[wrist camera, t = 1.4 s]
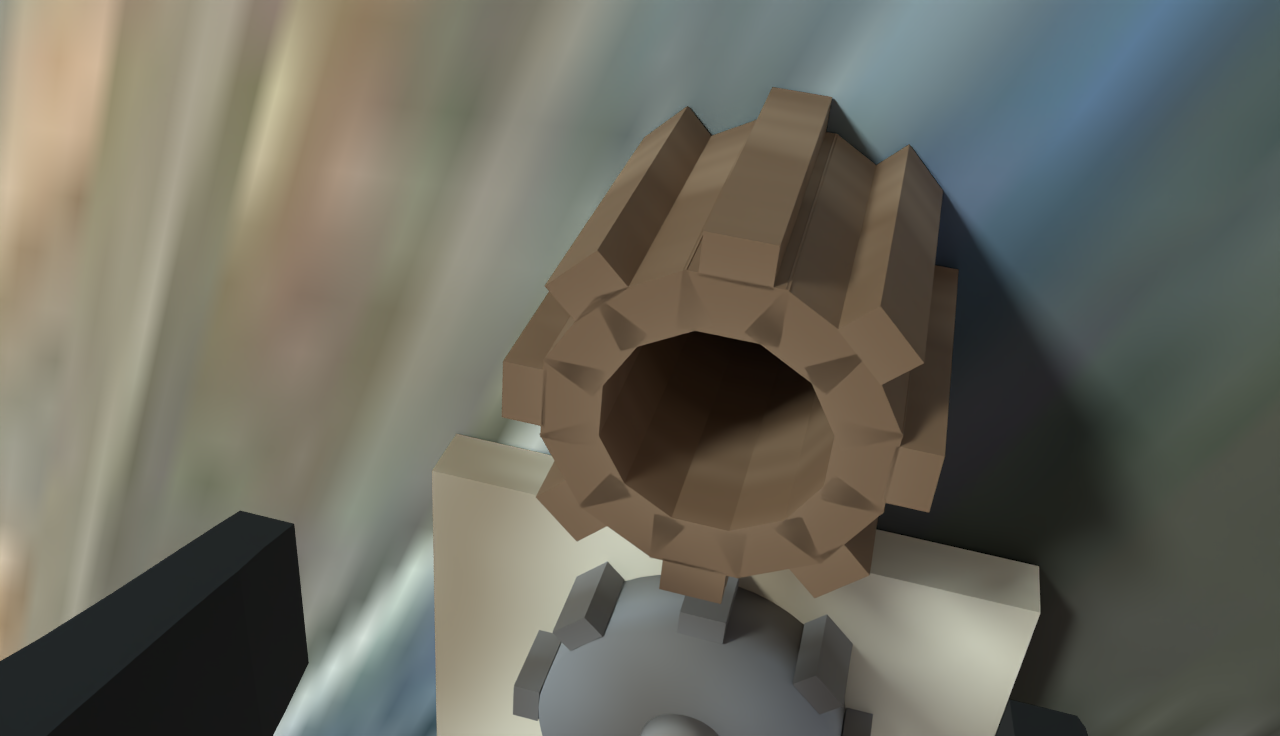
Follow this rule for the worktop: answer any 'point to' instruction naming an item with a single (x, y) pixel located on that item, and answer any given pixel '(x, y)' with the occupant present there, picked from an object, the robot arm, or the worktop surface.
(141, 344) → the worktop surface
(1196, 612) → the worktop surface
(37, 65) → the worktop surface
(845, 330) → the walnut gear
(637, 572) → the gear board
